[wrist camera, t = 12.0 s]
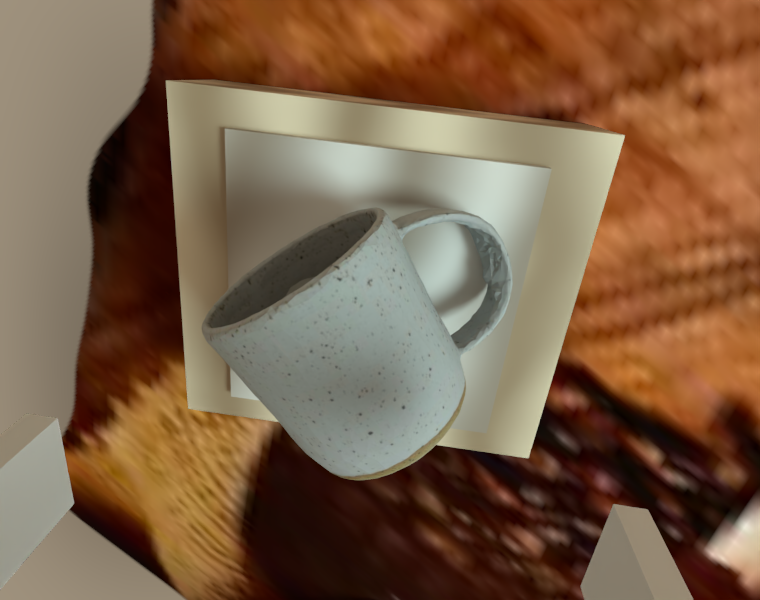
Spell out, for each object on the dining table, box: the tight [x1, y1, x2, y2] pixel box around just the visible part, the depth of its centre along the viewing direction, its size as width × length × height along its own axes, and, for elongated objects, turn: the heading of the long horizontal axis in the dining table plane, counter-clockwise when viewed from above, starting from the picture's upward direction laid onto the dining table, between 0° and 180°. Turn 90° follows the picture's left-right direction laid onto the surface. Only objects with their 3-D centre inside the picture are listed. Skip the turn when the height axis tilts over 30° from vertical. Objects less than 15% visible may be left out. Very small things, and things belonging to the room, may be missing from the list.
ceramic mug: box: [202, 207, 513, 480], centre depth 19 cm, size 11×8×8 cm
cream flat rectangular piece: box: [166, 80, 625, 458], centre depth 25 cm, size 18×16×5 cm
